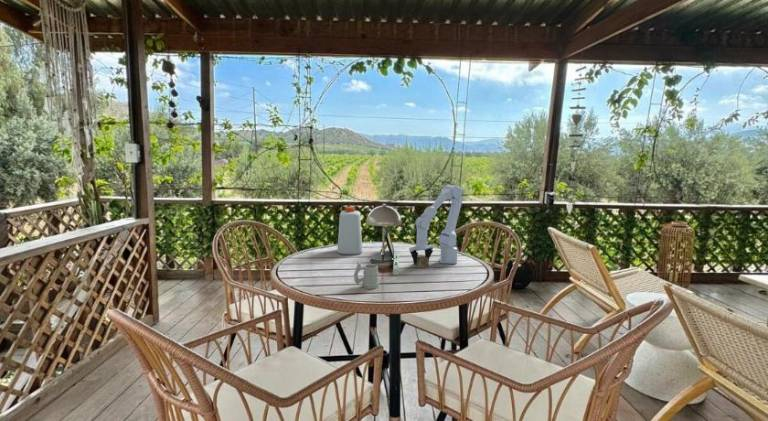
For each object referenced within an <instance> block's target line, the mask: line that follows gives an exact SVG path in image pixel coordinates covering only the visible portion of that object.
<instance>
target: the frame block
mask: <svg viewBox="0 0 768 421" xmlns="http://www.w3.org/2000/svg"><path fill="white" fill-rule="evenodd" d="M415 265H416V266H417V267H419V268H422V269H424V268H429V267H430V258H428V257H425V255H424V254H418V256H417V264H415Z"/></svg>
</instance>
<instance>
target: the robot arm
mask: <svg viewBox="0 0 768 421" xmlns="http://www.w3.org/2000/svg"><path fill="white" fill-rule="evenodd" d="M463 193H464V192H463V190H462V188H461V187H460V186H459V185H451V184H445V185H444V186H443V188H442V189H441V191H440V193H439V194H438V195H437V198H436V199H435V201H434V202H433V203H432V205H430V206H427V207H426V208H425V211H423V212H422V214H421V215H420V216H418V217H417V218H416V219H415V221H414V225H415V226H416V246H412V247H408V248H409V249H408V250H409V253H410V255H411V257H412V261H413V264H414V265H416V264H417V256H418V255H419V252H418V251H424V256H425V257H428V258H429V259H430V258H431V255H432V254H433V252H434V245H432V244H428V228H429V227H430V226H431V225H430V224H431V222H432V220H433V218H434V217H435V216H436V214H438V209H439V208H440V207H441V206H442V204H443V203H444V202H445V201H446V200H450V202H451V204H450V208H449V212H448V215H447V220H446V223H445V224H446V225H445V228H444V229H443V230H442V231H441V233H440V235H439V236H438V243H439V244H440V254H439V256H440V257H439V258H438V261H439V264H449V265H451V264H452V265H453V264H458V247H456V245H457V234H456V228H457V223H458V219H459V214H460V211H461V207H462V203H463Z"/></svg>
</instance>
